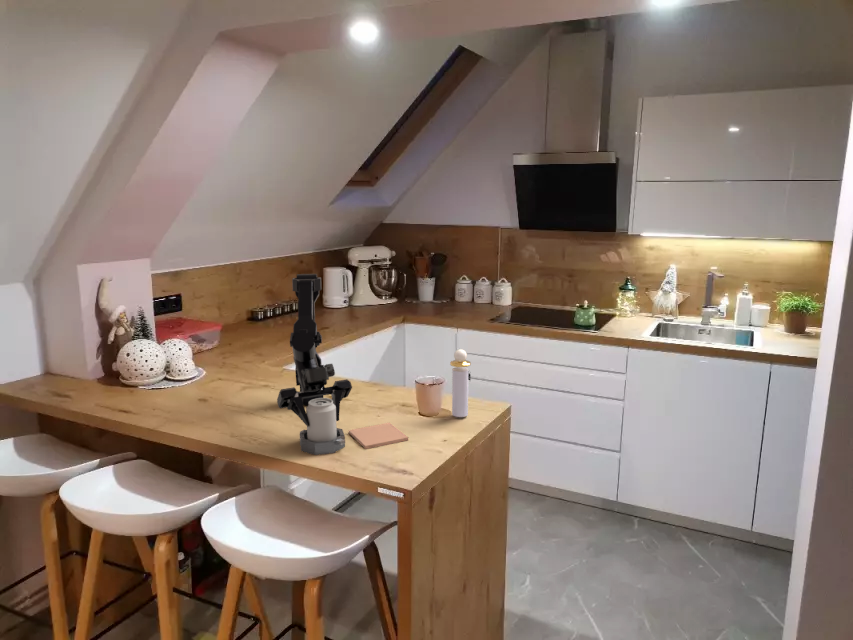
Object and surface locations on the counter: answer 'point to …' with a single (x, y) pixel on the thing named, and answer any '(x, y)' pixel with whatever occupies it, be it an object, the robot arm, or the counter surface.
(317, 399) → the can
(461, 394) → the perfume bottle
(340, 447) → the collar
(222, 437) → the counter surface
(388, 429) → the coaster
